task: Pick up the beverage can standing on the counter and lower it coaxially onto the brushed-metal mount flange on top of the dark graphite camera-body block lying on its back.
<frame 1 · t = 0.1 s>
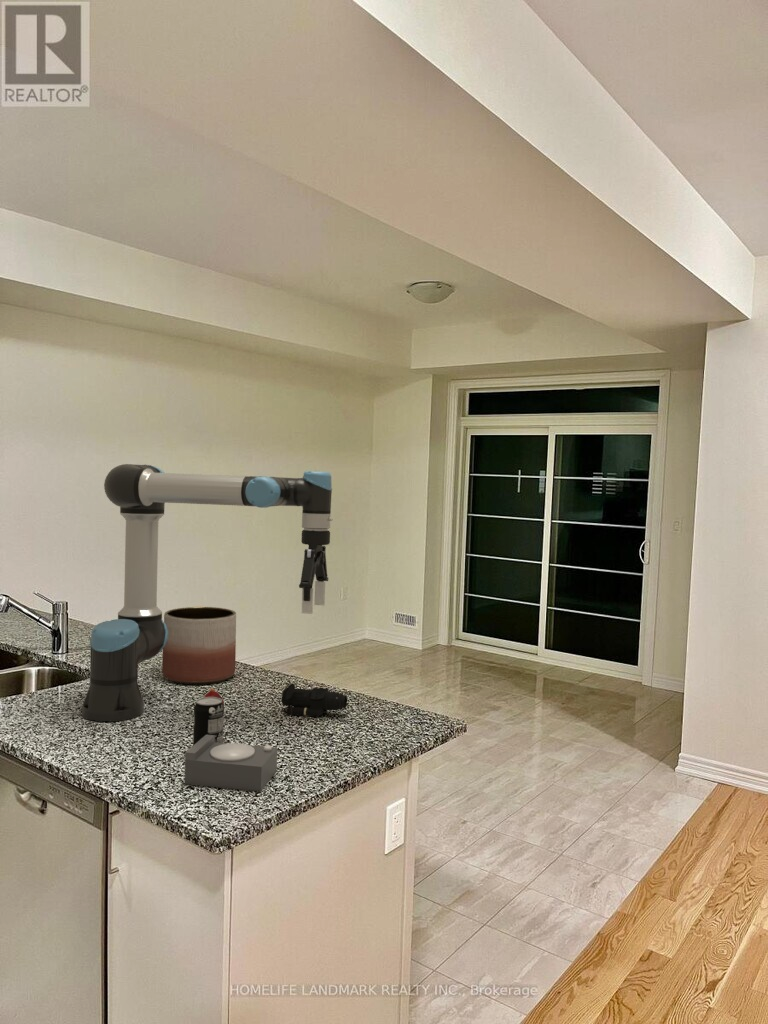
hand: (313, 609, 200), 28 cm above the counter, fingers open, 13 cm apart
beverage can: (207, 753, 170), on the counter
onion: (211, 719, 194), on the counter
night vision scope: (312, 714, 201), on the counter
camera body: (231, 777, 156), on the counter
planter: (198, 677, 234), on the counter
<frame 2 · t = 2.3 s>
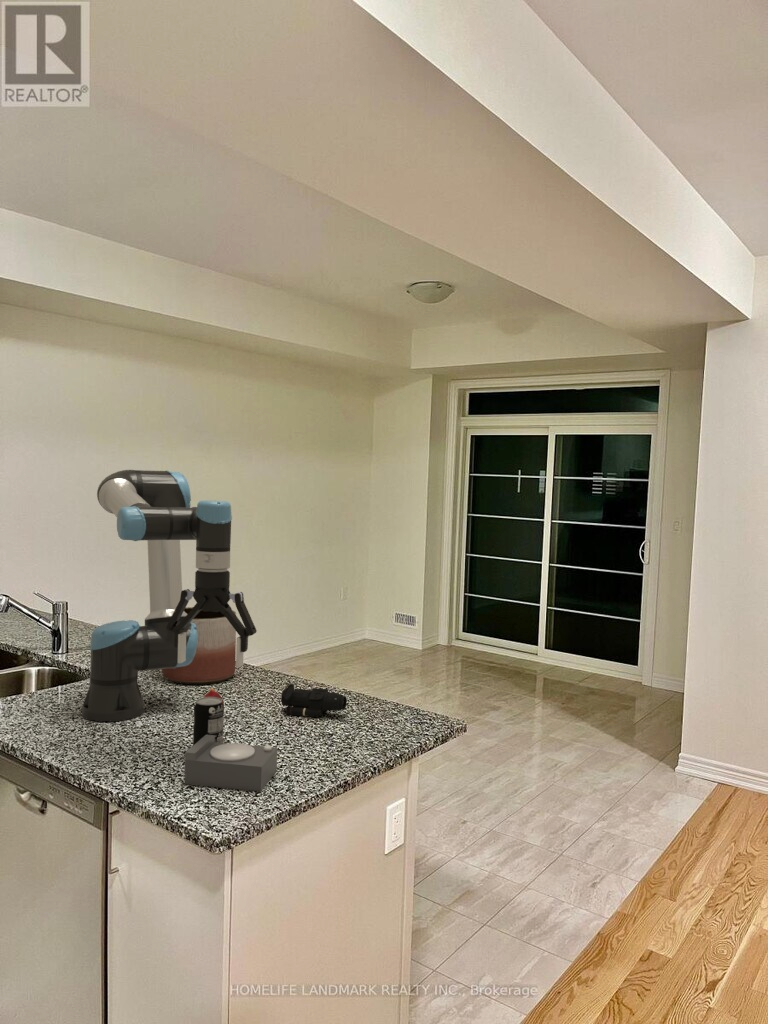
hand: (210, 664, 169), 20 cm above the counter, fingers open, 13 cm apart
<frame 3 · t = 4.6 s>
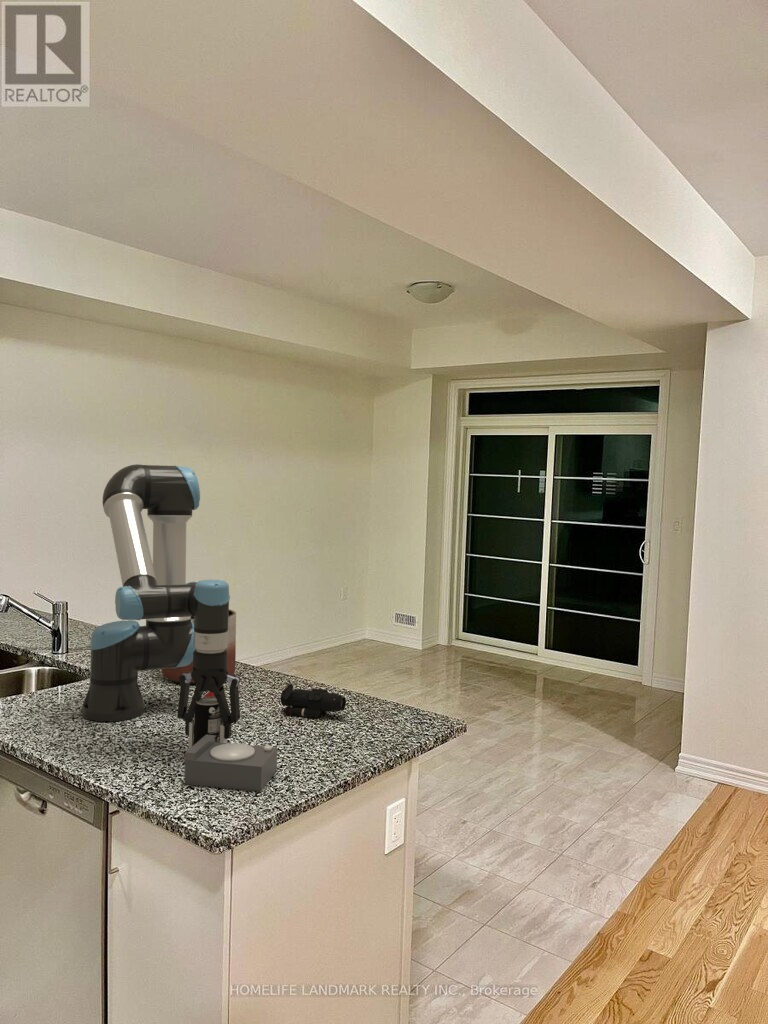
hand: (207, 750, 170), 0 cm above the counter, fingers closed on beverage can, 7 cm apart
beverage can: (207, 753, 170), on the counter, touching gripper
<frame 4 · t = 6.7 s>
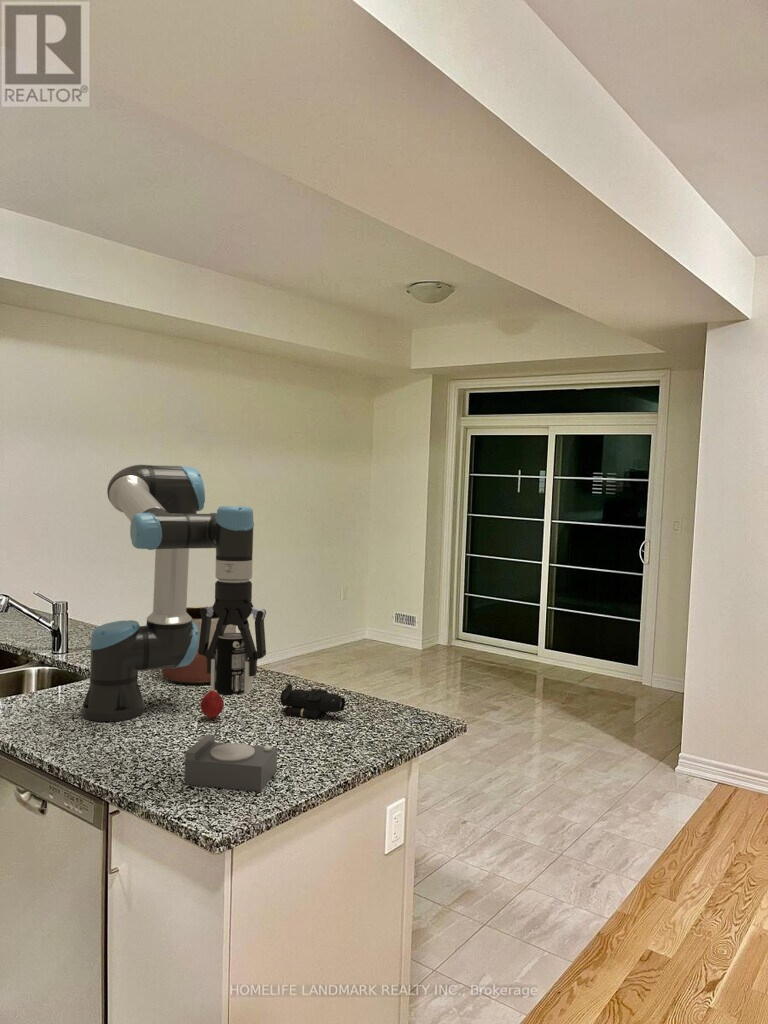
hand: (231, 689, 157), 18 cm above the counter, fingers closed on beverage can, 7 cm apart
beverage can: (231, 693, 157), point 17 cm above the counter, touching gripper
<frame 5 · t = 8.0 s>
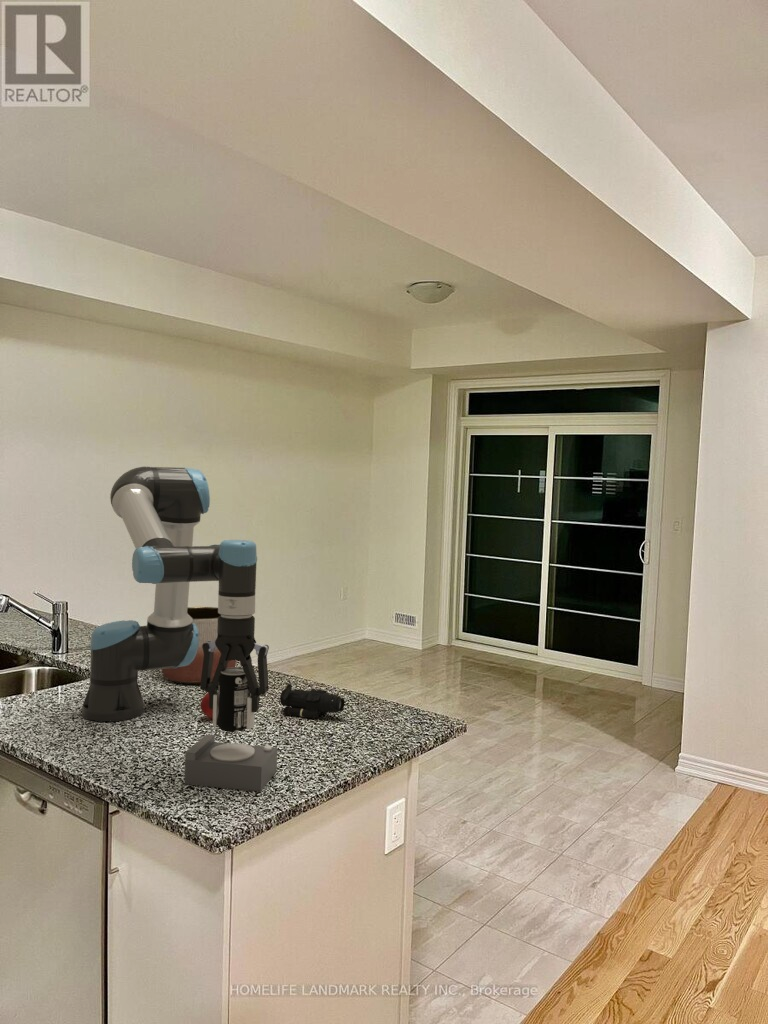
hand: (233, 725, 156), 11 cm above the counter, fingers closed on beverage can, 7 cm apart
beverage can: (233, 728, 156), point 10 cm above the counter, touching gripper
when the fingers open (7 cm above the counter, at t = 9.0 s): beverage can drops 1 cm, resting on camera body.
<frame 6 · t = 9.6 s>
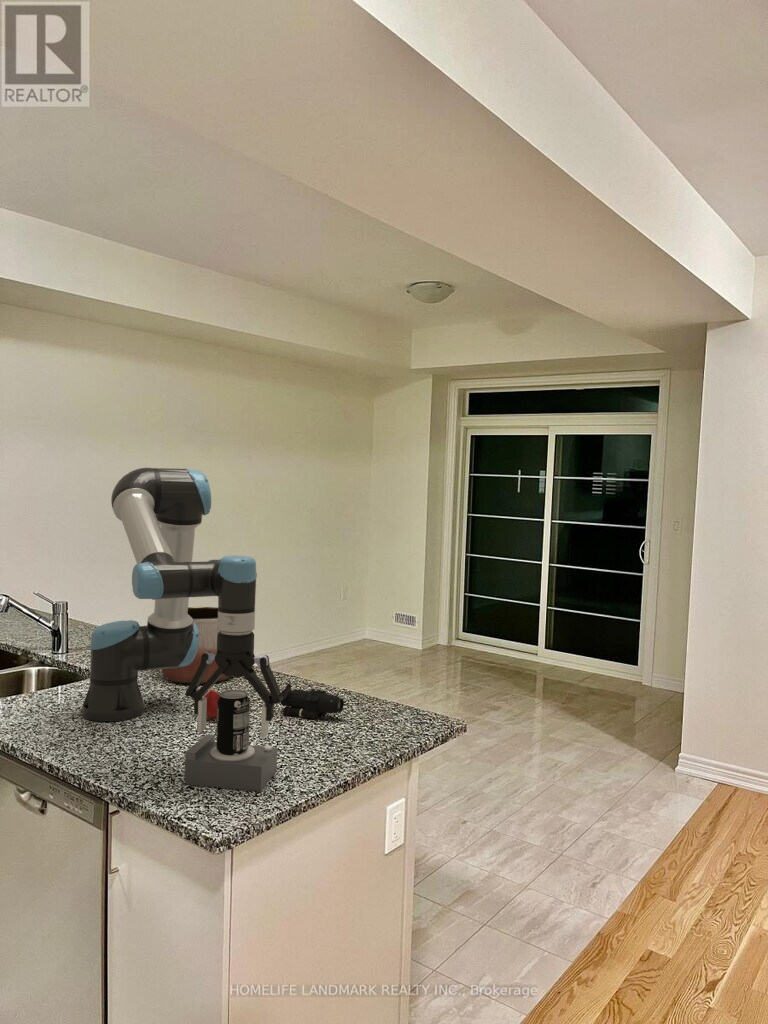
hand: (233, 733, 156), 9 cm above the counter, fingers open, 13 cm apart
beverage can: (232, 751, 156), point 5 cm above the counter, touching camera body
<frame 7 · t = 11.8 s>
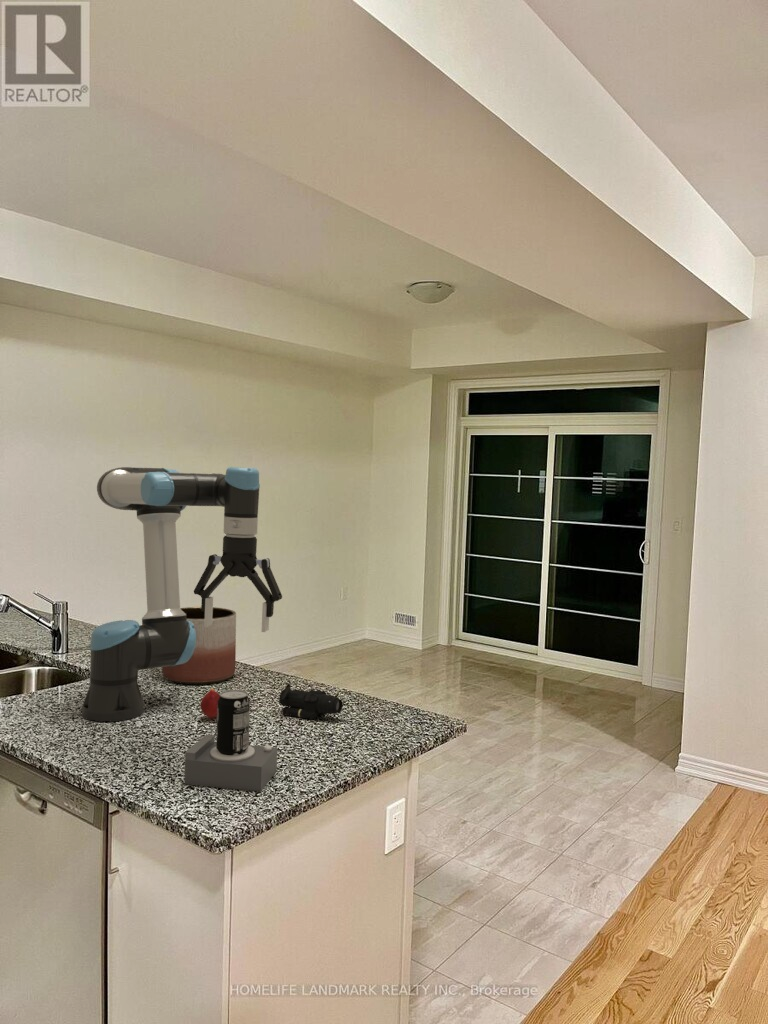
hand: (236, 628, 171), 28 cm above the counter, fingers open, 13 cm apart
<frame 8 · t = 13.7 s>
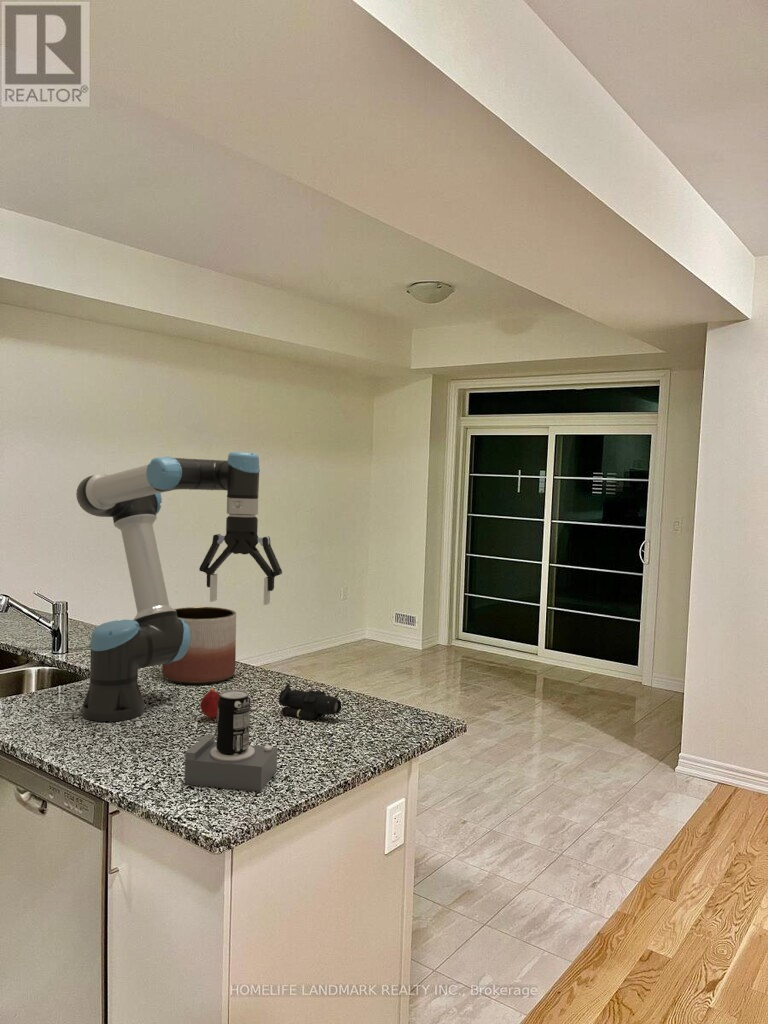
hand: (239, 602, 184), 32 cm above the counter, fingers open, 13 cm apart
at the end: beverage can 0.0 cm from the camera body (horizontally); beverage can inside the target area on the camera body (0.0 cm from its centre), point 5.4 cm above the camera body's base; beverage can tilted 0° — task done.
